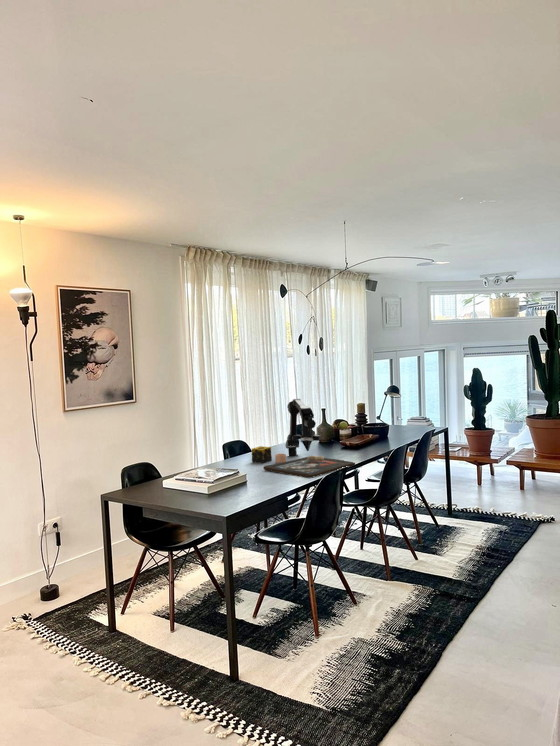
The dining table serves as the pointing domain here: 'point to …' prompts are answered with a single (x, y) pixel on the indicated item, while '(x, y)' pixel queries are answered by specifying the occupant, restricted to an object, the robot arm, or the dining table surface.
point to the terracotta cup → (280, 458)
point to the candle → (261, 454)
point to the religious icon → (308, 466)
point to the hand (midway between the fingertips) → (307, 450)
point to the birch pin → (316, 458)
